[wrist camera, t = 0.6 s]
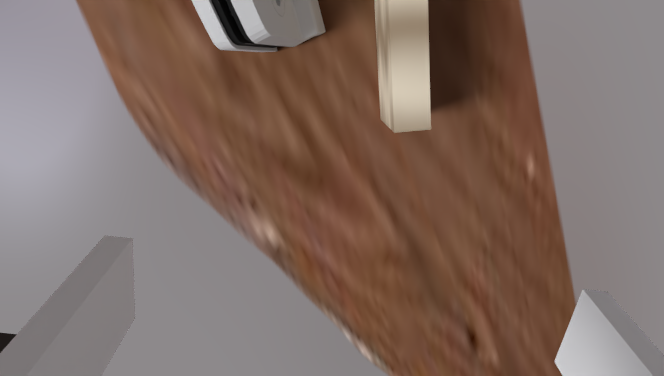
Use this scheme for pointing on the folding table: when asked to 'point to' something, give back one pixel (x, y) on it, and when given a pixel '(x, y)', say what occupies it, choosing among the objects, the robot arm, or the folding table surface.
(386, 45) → the bench stop
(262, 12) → the white black rounded case
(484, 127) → the folding table surface
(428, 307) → the folding table surface
